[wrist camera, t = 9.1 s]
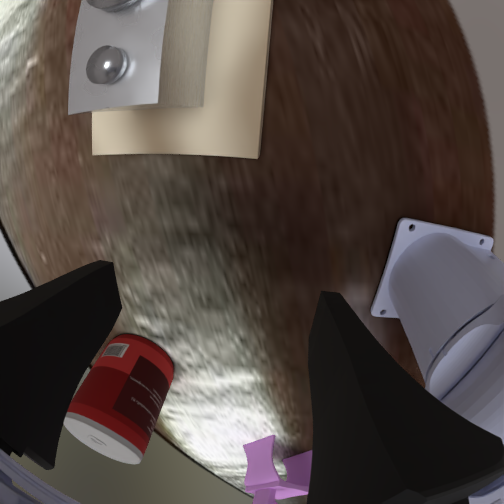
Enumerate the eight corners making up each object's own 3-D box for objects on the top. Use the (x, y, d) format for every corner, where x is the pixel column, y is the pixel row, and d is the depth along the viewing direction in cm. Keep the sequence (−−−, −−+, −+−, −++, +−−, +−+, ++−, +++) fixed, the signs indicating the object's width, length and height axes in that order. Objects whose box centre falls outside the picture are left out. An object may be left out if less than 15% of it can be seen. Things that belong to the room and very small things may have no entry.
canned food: (104, 356, 28) (60, 429, 18) (119, 318, 24) (61, 406, 14) (161, 390, 29) (129, 468, 19) (188, 360, 25) (151, 458, 16)
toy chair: (281, 462, 36) (273, 541, 22) (238, 446, 34) (222, 534, 20) (321, 448, 32) (320, 538, 19) (279, 432, 30) (268, 536, 17)
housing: (203, 107, 14) (148, 102, 8) (133, 110, 14) (56, 116, 8) (215, -13, 10) (175, -70, 4) (145, -3, 11) (82, -40, 5)
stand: (275, -28, 10) (274, -39, 9) (259, 155, 16) (257, 158, 15) (119, -10, 11) (109, -16, 10) (104, 151, 17) (92, 155, 16)
